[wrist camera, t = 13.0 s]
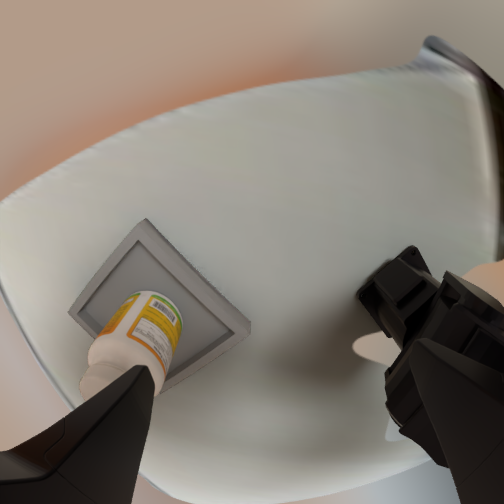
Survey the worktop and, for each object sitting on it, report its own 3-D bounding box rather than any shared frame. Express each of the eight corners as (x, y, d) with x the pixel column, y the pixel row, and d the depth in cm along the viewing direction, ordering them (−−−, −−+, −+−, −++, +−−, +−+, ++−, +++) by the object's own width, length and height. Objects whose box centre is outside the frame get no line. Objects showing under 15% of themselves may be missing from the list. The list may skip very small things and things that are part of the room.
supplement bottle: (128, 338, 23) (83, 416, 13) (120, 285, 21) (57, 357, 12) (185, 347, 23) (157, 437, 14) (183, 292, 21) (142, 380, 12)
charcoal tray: (250, 321, 23) (250, 334, 21) (164, 381, 25) (160, 393, 23) (146, 218, 20) (137, 223, 18) (76, 303, 22) (67, 312, 21)
